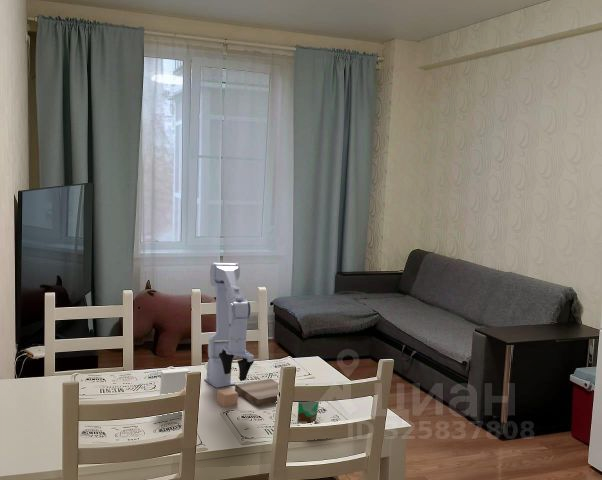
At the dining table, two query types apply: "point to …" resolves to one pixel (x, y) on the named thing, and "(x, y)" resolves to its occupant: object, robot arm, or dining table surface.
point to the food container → (307, 411)
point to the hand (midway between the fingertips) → (234, 376)
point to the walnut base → (259, 391)
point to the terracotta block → (227, 397)
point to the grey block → (173, 380)
